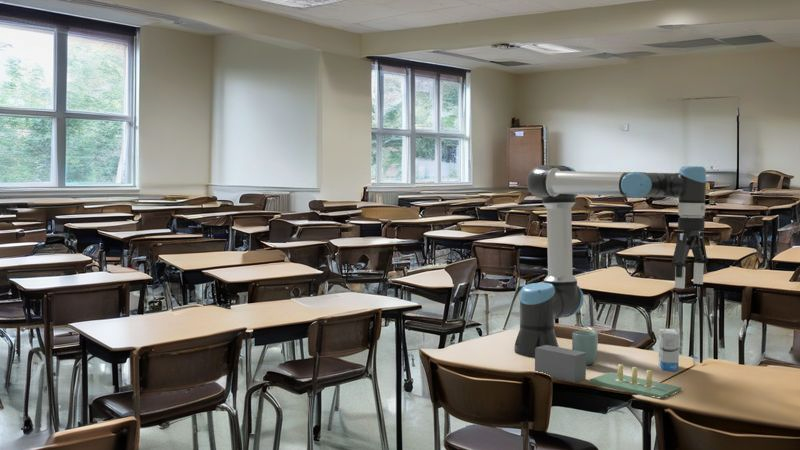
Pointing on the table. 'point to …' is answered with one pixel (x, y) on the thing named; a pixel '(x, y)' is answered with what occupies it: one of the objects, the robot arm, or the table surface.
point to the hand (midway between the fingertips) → (689, 286)
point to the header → (635, 383)
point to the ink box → (668, 349)
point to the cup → (586, 344)
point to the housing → (561, 363)
